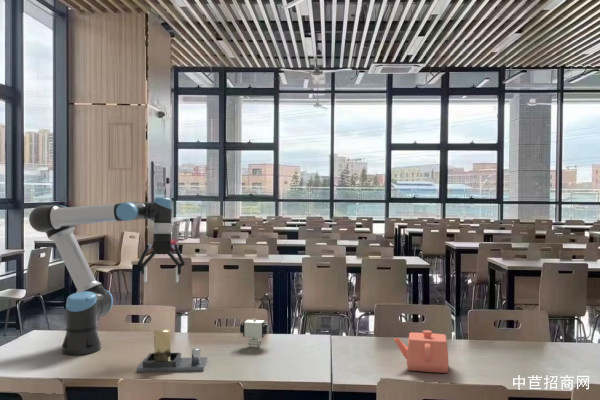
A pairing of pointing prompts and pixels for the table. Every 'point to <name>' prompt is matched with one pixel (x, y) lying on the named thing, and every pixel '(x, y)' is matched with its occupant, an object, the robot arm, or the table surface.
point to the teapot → (425, 352)
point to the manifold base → (174, 363)
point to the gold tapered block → (162, 345)
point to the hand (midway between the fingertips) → (161, 281)
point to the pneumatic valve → (254, 331)
